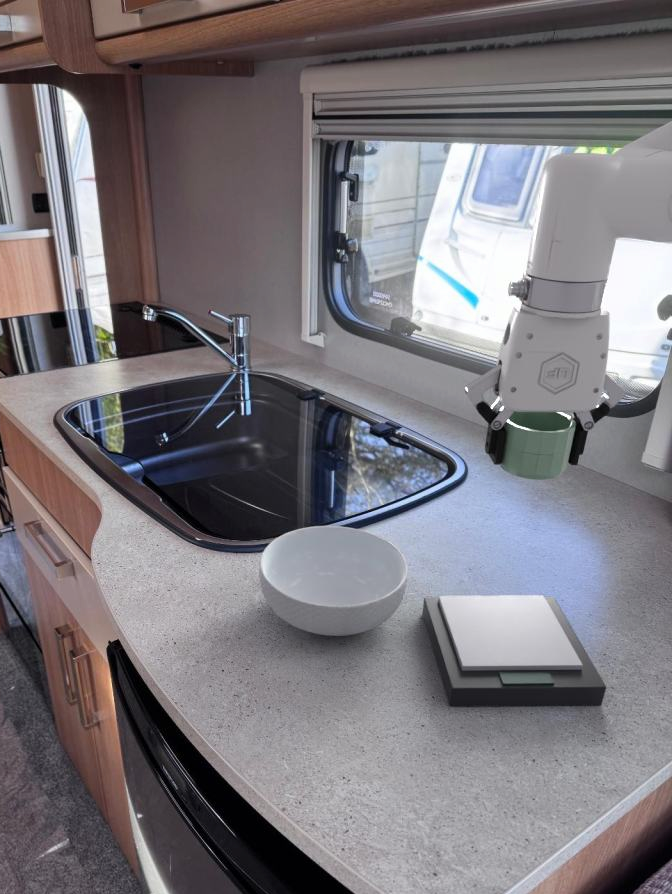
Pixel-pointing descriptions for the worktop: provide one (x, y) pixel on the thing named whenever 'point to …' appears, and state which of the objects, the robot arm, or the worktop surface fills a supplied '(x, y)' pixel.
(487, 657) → the scale
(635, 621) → the worktop surface
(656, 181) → the robot arm
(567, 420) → the small cup
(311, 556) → the cereal bowl
